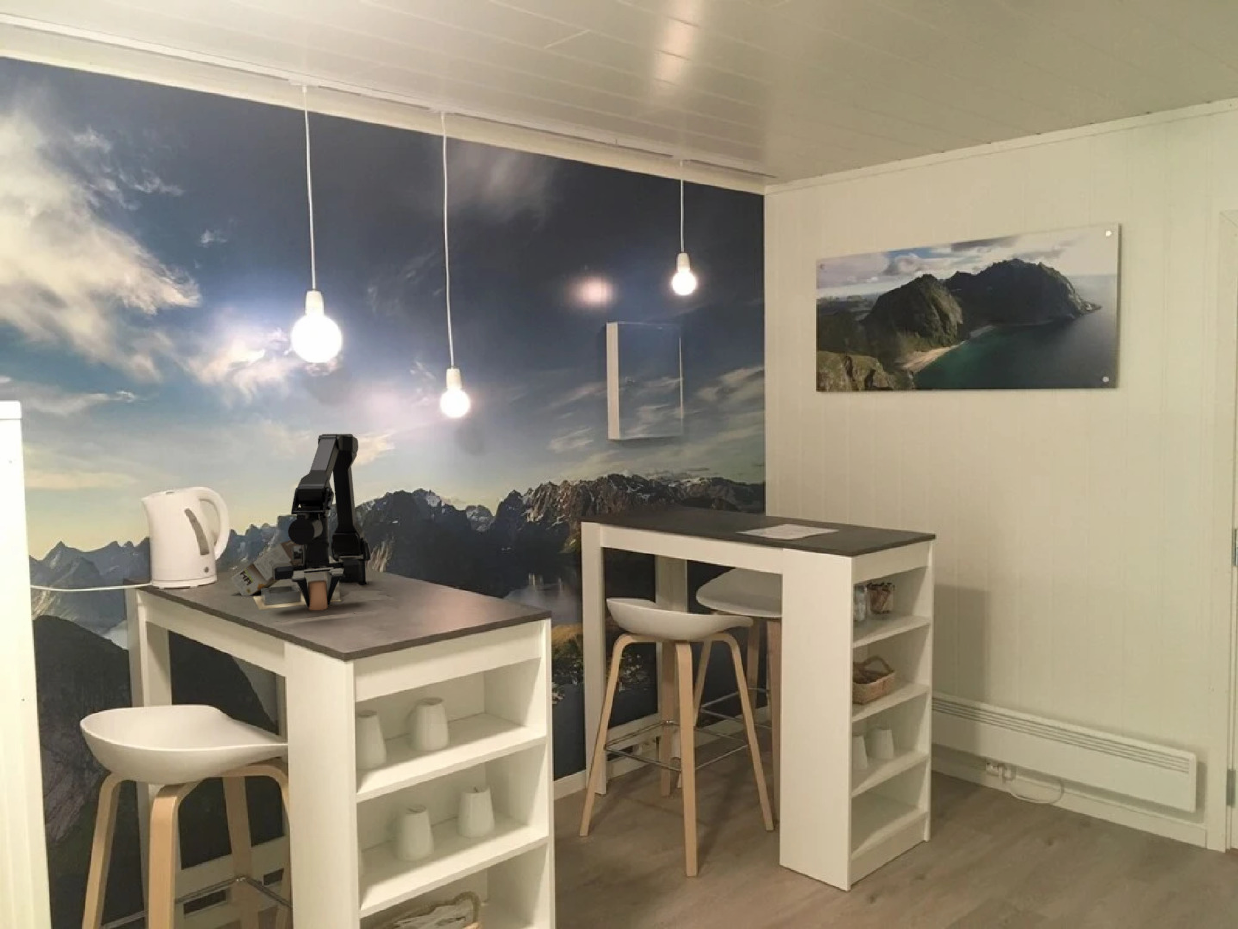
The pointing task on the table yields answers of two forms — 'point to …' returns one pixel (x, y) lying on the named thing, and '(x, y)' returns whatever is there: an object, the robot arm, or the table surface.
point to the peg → (317, 594)
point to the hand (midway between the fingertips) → (318, 605)
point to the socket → (280, 595)
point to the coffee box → (264, 569)
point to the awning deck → (334, 597)
